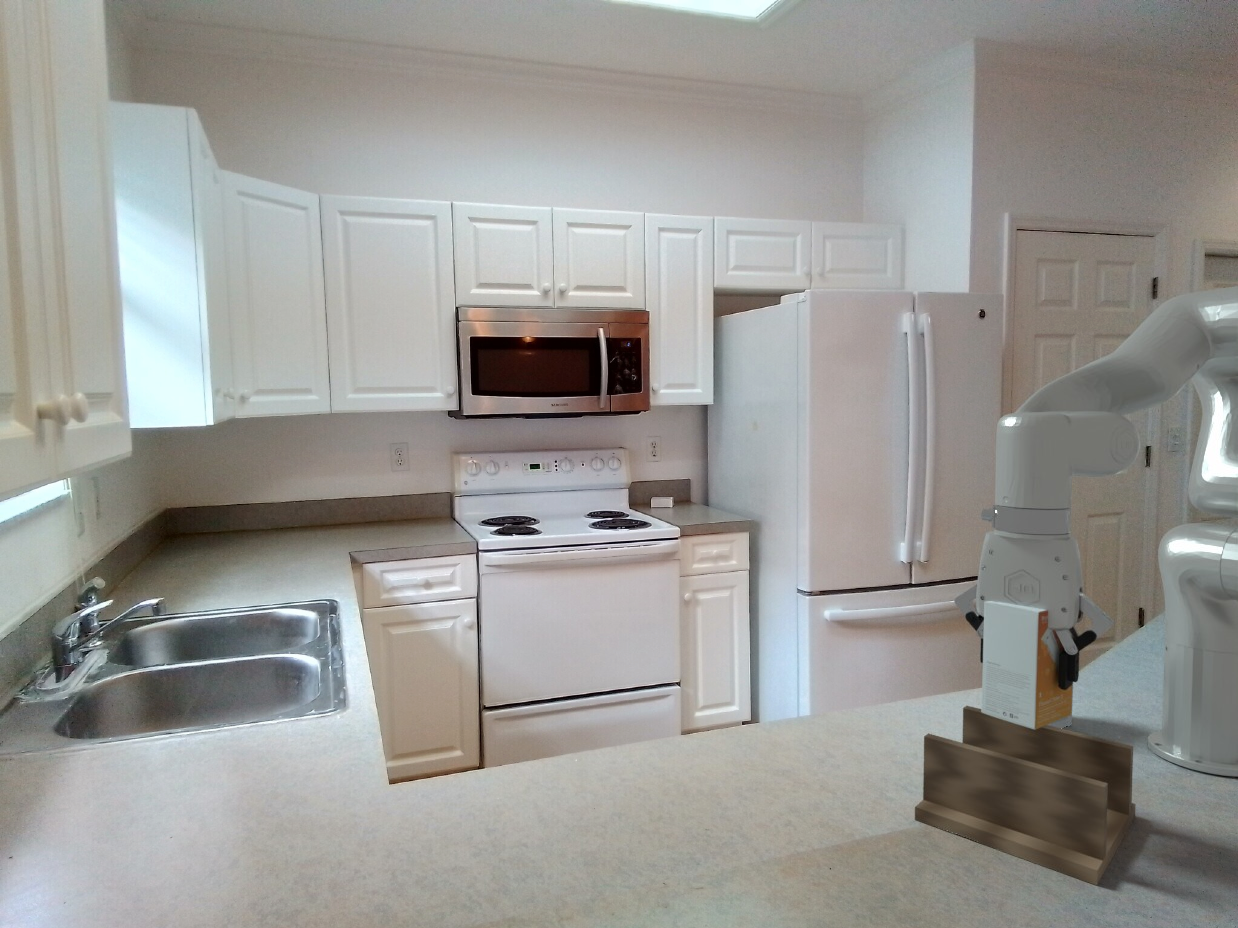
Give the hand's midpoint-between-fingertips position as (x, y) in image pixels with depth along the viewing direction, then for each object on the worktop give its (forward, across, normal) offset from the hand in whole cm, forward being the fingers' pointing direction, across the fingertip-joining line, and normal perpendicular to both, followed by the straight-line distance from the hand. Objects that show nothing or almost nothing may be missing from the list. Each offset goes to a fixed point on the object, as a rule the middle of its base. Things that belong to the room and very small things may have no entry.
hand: (1027, 677), depth 86 cm
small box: (+4, 0, 0) cm, 4 cm away
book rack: (+16, 0, 0) cm, 16 cm away
